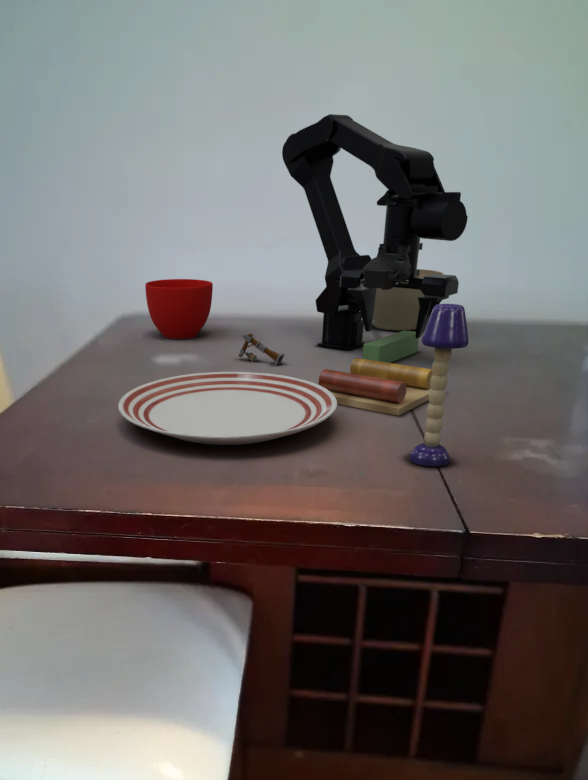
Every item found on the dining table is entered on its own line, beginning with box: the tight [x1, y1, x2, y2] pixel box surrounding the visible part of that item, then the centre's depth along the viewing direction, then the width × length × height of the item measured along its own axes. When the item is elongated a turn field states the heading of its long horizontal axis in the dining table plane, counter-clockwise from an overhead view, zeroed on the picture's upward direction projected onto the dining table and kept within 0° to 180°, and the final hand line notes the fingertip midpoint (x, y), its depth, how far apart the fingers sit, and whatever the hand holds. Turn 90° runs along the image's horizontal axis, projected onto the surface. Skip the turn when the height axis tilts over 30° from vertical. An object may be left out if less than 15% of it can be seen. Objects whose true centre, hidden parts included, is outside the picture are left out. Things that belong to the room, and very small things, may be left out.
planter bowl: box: [372, 268, 444, 331], centre depth 151 cm, size 16×16×11 cm
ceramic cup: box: [144, 278, 214, 340], centre depth 146 cm, size 13×17×10 cm
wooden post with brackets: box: [238, 332, 286, 366], centre depth 125 cm, size 2×8×4 cm, turn 58°
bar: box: [361, 330, 420, 363], centre depth 127 cm, size 3×15×4 cm, turn 141°
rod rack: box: [318, 357, 433, 417], centre depth 105 cm, size 14×14×4 cm
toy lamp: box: [409, 303, 469, 467], centre depth 79 cm, size 5×5×17 cm
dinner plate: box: [117, 371, 338, 446], centre depth 94 cm, size 27×27×3 cm
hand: (392, 334), depth 126 cm, fingers open, 9 cm apart
